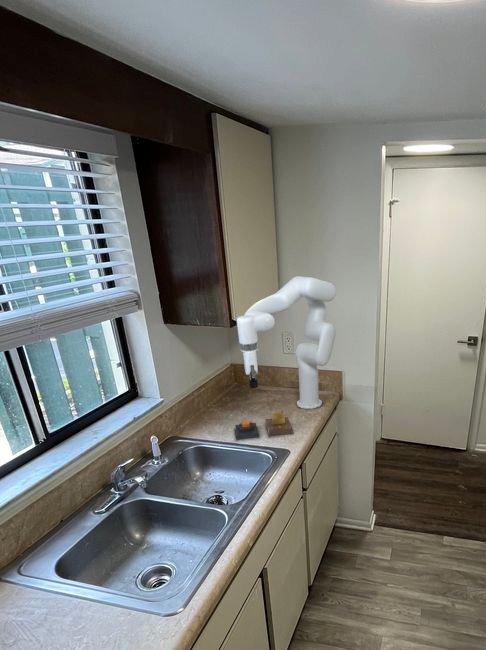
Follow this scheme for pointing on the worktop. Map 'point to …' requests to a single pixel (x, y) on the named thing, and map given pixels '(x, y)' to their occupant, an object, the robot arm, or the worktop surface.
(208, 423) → the worktop surface
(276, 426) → the plate
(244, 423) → the bell button
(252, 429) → the doorbell
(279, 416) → the lock knob
